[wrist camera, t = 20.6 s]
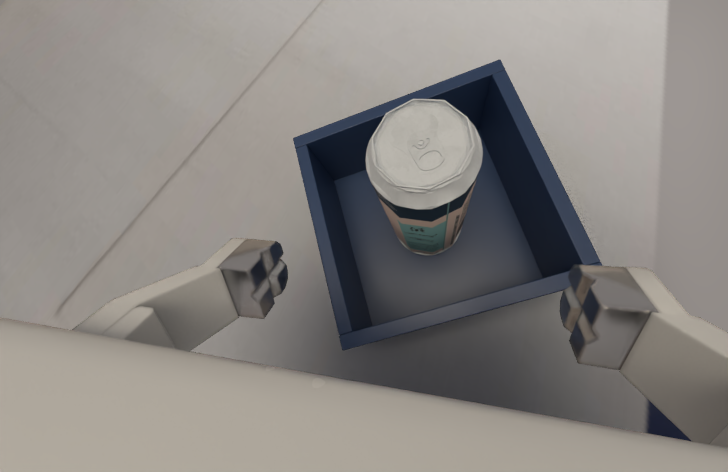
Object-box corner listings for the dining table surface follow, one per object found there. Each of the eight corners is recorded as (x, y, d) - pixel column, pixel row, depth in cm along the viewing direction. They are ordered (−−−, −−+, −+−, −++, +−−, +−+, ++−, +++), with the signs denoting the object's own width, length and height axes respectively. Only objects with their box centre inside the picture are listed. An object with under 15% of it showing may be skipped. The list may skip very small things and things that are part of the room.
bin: (556, 288, 22) (609, 277, 15) (367, 340, 23) (342, 350, 17) (483, 123, 25) (500, 58, 19) (326, 179, 27) (292, 137, 21)
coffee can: (441, 184, 24) (448, 67, 13) (473, 238, 23) (512, 162, 11) (385, 212, 25) (342, 124, 13) (412, 267, 23) (391, 222, 12)
